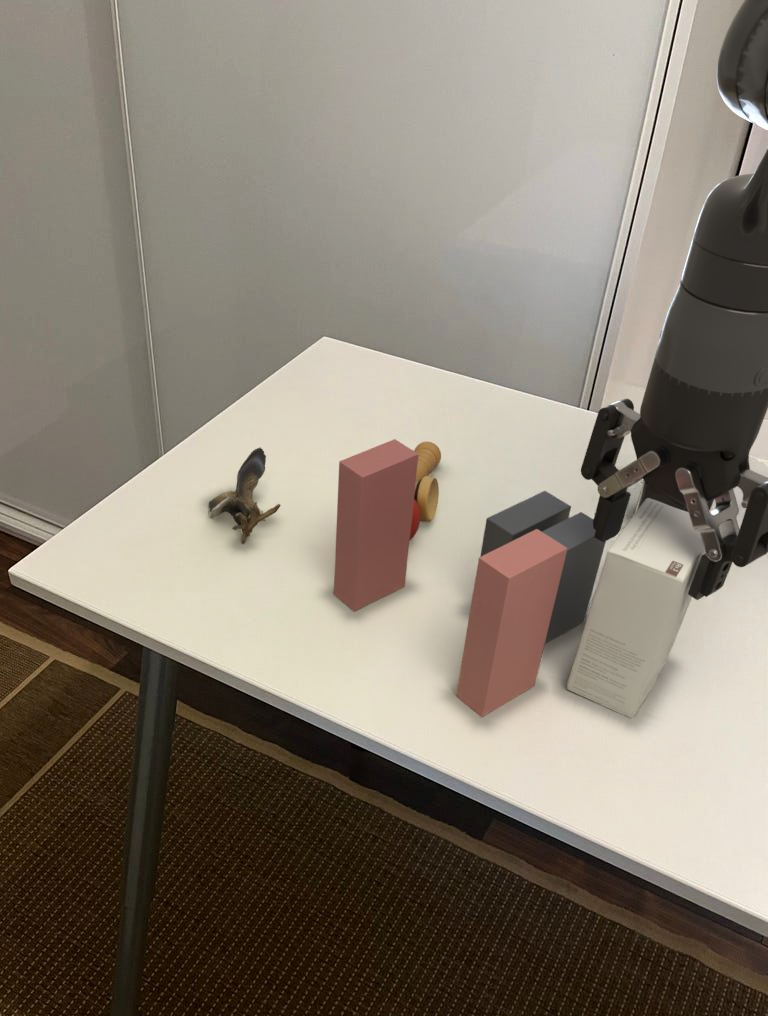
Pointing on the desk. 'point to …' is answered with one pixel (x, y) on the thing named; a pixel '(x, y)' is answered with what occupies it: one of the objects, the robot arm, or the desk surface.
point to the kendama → (425, 485)
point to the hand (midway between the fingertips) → (651, 564)
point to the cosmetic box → (637, 608)
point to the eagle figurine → (244, 496)
